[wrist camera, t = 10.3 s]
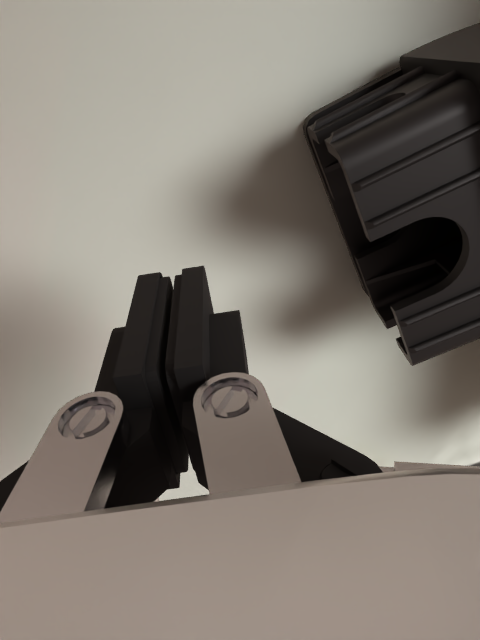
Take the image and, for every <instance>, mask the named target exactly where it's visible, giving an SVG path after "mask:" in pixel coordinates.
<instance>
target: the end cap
mask: <svg viewBox="0 0 480 640" xmlns="http://www.w3.org/2000/svg"><path fill="white" fill-rule="evenodd" d="M400 66H401V67H400V68H398V69H395V70H393V71H391V72H389V73H387V74H385V75H383V76H382V77H380V78H378V79H376V80H374V81H372V82H370V83H368V84H366V85H364V86H362V87H361V88H359V89H357V90H355V91H353V92H351V93H349V94H347V95H345V96H343V97H341V98H340V99H338V100H336V101H334V102H332V103H330V104H328V105H326V106H324V107H322V108H320V109H318V110H317V111H315V112H313V113H312V114H310V115H309V116H308V117H307V118H306V120H305V122H304V125H303V130H304V135H305V138H306V140H307V143H308V146H309V148H310V151H311V154H312V156H313V159H314V161H315V164H316V167H317V169H318V172H319V175H320V177H321V180H322V182H323V185H324V188H325V190H326V193H327V196H328V198H329V201H330V203H331V206H332V209H333V211H334V214H335V217H336V219H337V222H338V225H339V227H340V230H341V232H342V235H343V238H344V240H345V243H346V246H347V248H348V251H349V253H350V256H351V259H352V261H353V264H354V267H355V269H356V272H357V274H358V277H359V280H360V282H361V285H362V288H363V289H364V291H365V292H366V294H367V295H368V296H369V297H370V300H371V302H372V304H373V307H374V309H375V311H376V312H377V314H378V316H379V317H380V319H381V320H382V322H383V323H384V325H385V326H386V328H387V329H389V328H391V327H393V326H396V325H397V326H398V329H399V332H400V335H401V337H399V338H397V339H396V341H397V343H398V346H399V348H400V349H401V351H402V352H403V354H404V355H405V357H406V358H407V360H408V361H409V363H410V364H411V365H412V366H413V365H416V364H418V363H420V362H423V361H425V360H428V359H430V358H433V357H435V356H438V355H440V354H442V353H445V352H447V351H450V350H452V349H455V348H457V347H460V346H462V345H464V344H467V343H469V342H472V341H474V340H477V339H479V338H480V23H478V24H475V25H472V26H469V27H467V28H464V29H461V30H459V31H456V32H453V33H451V34H448V35H446V36H444V37H441V38H439V39H436V40H434V41H432V42H430V43H427V44H425V45H423V46H421V47H419V48H417V49H415V50H413V51H411V52H409V53H407V54H405V55H403V56H401V57H400Z"/></svg>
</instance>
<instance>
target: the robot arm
mask: <svg viewBox="0 0 480 640" xmlns="http://www.w3.org/2000/svg"><path fill="white" fill-rule="evenodd" d="M189 457H190V460H191V463H192V467H193V470H194V471H195V472H196V476H197V479H198V482H199V483H200V484H201V485H202V486H204V487H205V488H206V489H208V490H209V495H201V496H194V497H186V498H179V499H171V500H164V501H159V498H158V497H159V496H160V495H161V494H162V493H164V492H165V491H166V490H167V489H174V488H179V486H180V473H182V472H187V471H188V458H189ZM0 640H480V467H478V466H477V467H476V466H461V465H445V464H428V463H411V462H395V461H394V467H380V466H378V465H377V464H376V463H375V462H374V461H372V460H371V459H369V458H368V457H367V456H365V455H363V454H361V453H359V452H357V451H356V450H354V449H352V448H350V447H348V446H346V445H344V444H342V443H340V442H338V441H336V440H334V439H332V438H330V437H328V436H327V435H325V434H323V433H321V432H319V431H317V430H315V429H313V428H311V427H309V426H307V425H305V424H303V423H301V422H300V421H298V420H296V419H294V418H292V417H290V416H288V415H286V414H284V413H282V412H280V411H278V410H276V409H274V408H272V405H271V403H270V400H269V398H268V395H267V393H266V390H265V388H264V386H263V385H262V383H261V382H260V381H259V380H258V379H256V378H255V377H254V376H251V375H249V372H248V364H247V357H246V350H245V343H244V336H243V330H242V323H241V317H240V312H239V310H237V311H230V312H223V313H216V314H214V313H213V308H212V302H211V297H210V292H209V287H208V282H207V277H206V272H205V268H204V266H199V267H192V268H186V269H182V275H176V276H175V281H174V290H173V286H172V282H171V279H170V277H163V276H162V274H161V273H160V272H159V273H152V274H145V275H139V276H138V279H137V283H136V287H135V291H134V295H133V299H132V303H131V307H130V311H129V315H128V319H127V323H126V326H125V327H120V328H115V329H113V331H112V333H111V336H110V340H109V343H108V347H107V350H106V354H105V357H104V360H103V364H102V367H101V371H100V374H99V378H98V381H97V385H96V388H95V391H94V392H91V393H87V394H84V395H81V396H78V397H76V398H75V399H73V400H71V401H69V402H68V403H66V404H65V405H64V406H63V407H62V408H60V409H59V410H58V412H57V413H56V414H55V416H54V417H53V419H52V420H51V422H50V424H49V426H48V428H47V429H46V431H45V433H44V435H43V437H42V438H41V440H40V442H39V444H38V446H37V447H36V449H35V451H34V453H33V455H32V456H31V458H30V460H29V461H27V462H26V463H25V464H23V465H22V466H21V467H19V468H18V469H17V470H15V471H14V472H12V473H11V474H10V475H8V476H7V477H6V478H4V479H3V480H2V481H0Z"/></svg>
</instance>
